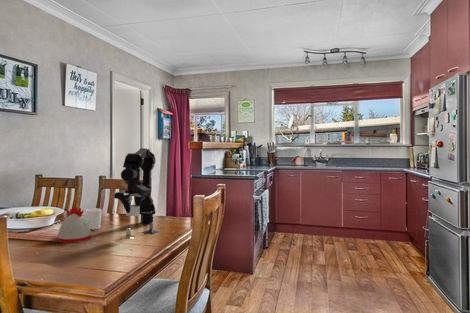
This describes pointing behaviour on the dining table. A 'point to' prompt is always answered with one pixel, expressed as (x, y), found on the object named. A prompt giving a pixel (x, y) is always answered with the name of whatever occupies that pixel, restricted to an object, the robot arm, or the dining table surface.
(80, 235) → the chicken hat
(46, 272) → the dining table surface
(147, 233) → the stand
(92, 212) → the white cup
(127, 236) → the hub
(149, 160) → the robot arm
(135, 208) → the collar
